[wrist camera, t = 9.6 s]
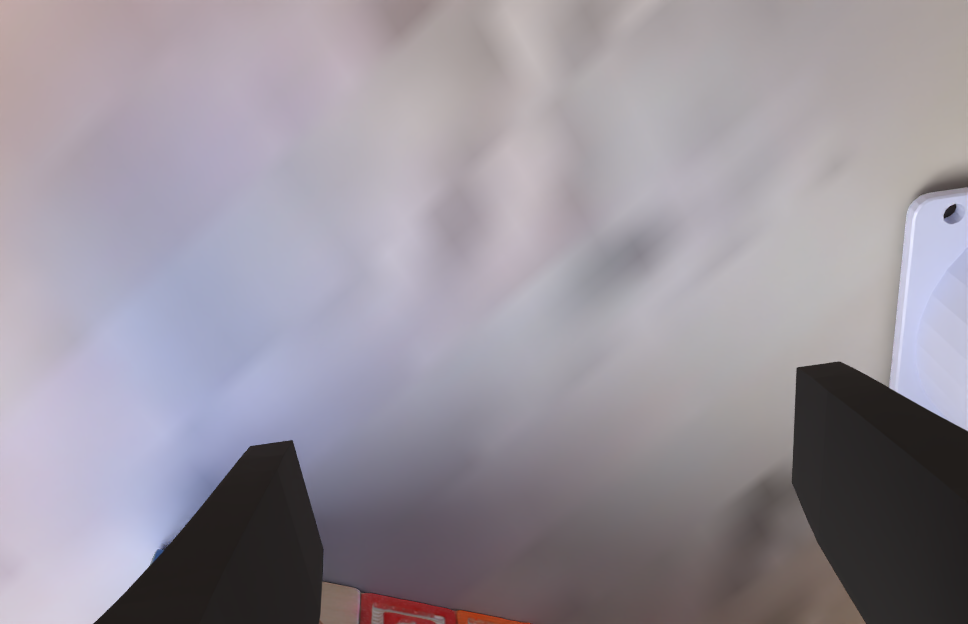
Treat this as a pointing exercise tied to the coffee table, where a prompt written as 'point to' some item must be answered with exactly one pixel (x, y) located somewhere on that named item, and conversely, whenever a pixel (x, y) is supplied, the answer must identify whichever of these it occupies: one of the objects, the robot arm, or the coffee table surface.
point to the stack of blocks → (386, 609)
